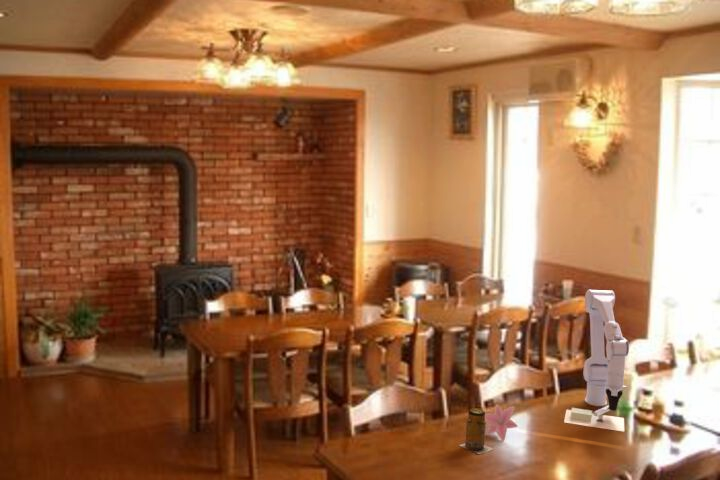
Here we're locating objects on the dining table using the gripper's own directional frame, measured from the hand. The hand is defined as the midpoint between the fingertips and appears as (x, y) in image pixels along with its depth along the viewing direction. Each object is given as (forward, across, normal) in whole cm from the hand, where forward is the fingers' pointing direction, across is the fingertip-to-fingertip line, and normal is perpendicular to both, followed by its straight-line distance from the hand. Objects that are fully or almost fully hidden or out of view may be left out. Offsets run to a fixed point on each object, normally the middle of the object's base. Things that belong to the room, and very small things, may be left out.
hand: (612, 410), depth 262 cm
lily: (+5, -29, +36) cm, 47 cm away
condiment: (+5, -44, +41) cm, 60 cm away
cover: (+3, -4, +10) cm, 12 cm away
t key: (+3, -2, +3) cm, 5 cm away
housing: (+4, -4, +6) cm, 8 cm away
